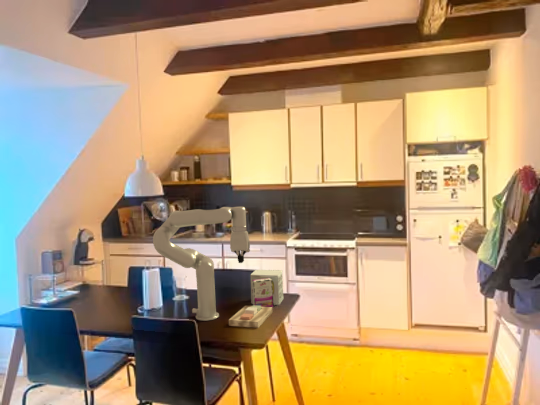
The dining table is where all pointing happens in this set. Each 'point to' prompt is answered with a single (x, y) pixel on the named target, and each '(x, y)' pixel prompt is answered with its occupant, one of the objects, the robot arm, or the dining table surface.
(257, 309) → the sage key
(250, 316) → the terracotta key
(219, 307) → the dining table surface
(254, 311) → the offwhite key
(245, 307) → the keypad base
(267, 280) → the candy bar box
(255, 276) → the supplement box
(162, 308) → the dining table surface
